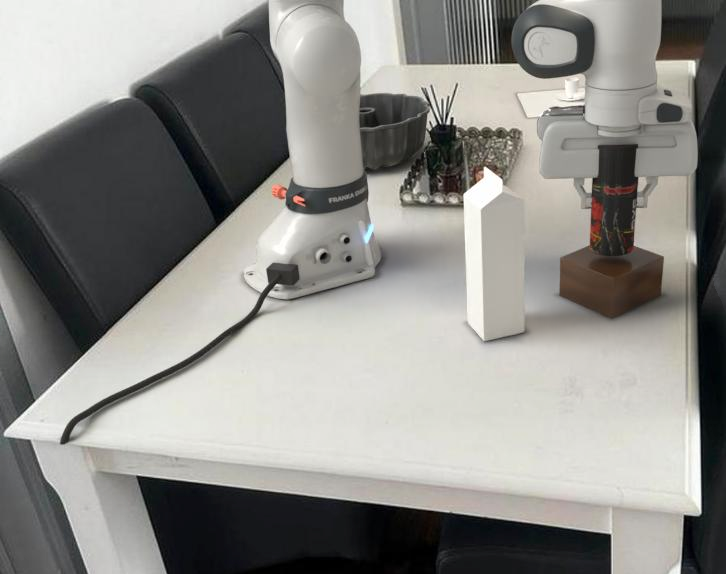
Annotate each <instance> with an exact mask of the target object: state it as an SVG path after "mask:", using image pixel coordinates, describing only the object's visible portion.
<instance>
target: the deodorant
mask: <svg viewBox="0 0 726 574" xmlns="http://www.w3.org/2000/svg"><path fill="white" fill-rule="evenodd" d="M637 148H638V144H627V145H598V149H599V169H598V177H597V178H591V179H592V180H591V193H592V197H593V199H592V209H590V222H589V223H590V226H589V245H590V246H589V245H588V246H589V248H590V250H591V251H592V252H593V253H595V254H598V255H602V256H621V255H625V254H628V253H630V252H631V251H632V250H633V248H634V246H635V233H636V220H637V219H636V218H637V216H636V215H637V208H636V202H637V201H636V199H637V192H638V189H639V177H635V160H636V149H637Z"/></svg>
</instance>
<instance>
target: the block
mask: <svg viewBox="0 0 726 574" xmlns="http://www.w3.org/2000/svg"><path fill="white" fill-rule="evenodd" d="M589 246H590V244H588V245H587V246H585V247H582V248H580V249H577V250H575V251H572V252H570V253H567V254H565V255H562V256H560V257H559V288H558V289H559V294H558V295H559V297H562V298H564V299H566V300H568V301H571V302H573V303H576V304H577V305H580V306H582V307H584V308H587V309H588V310H591V311H593V312H596V313H597V314H600V315H602V316H604V317H606V318H609V319H613V318H615V317H618V316H620V315H622V314H624V313H626V312H628V311H631V310H633V309H635V308H637V307H640V306H641V305H644V304H647V303H648V302H650V301H652V300H654V299H656V298H658V297H661V295H662V288H663V275H664V264H665V263H664V262H665V256H664V255H661V254H659V253H656V252H653V251H651V250H647V249H645V248H642V247H639V246H637V245H634V248H633V250H632V251H631V252H630V253H628V254H625V255H621V256H602V255H598V254H595V253H593V252H592V251H591V250H590V248H589Z"/></svg>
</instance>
